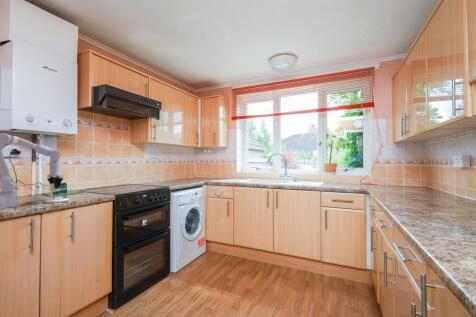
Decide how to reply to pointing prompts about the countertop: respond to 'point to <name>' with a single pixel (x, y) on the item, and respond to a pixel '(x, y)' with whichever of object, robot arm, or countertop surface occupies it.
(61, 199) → the cream round disc
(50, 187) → the block
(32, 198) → the grey square block
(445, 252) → the countertop surface
